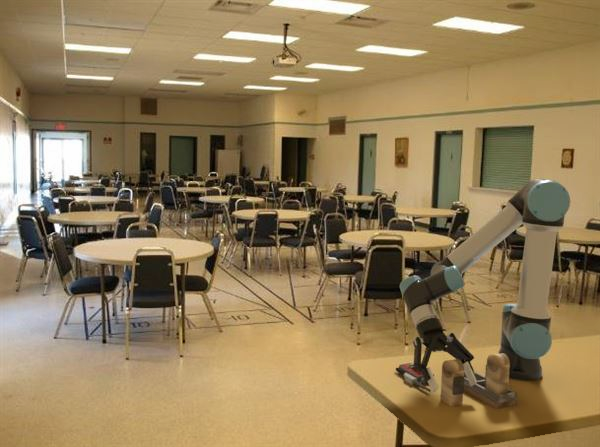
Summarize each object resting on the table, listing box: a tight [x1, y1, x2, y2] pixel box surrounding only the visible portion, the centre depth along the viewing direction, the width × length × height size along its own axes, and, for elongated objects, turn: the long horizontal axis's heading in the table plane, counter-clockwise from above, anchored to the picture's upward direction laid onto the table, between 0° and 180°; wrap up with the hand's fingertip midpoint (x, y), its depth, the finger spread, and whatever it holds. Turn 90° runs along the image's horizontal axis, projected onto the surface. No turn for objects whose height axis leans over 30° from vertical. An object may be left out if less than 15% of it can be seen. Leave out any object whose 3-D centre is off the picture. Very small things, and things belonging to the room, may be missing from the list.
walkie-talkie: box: [395, 362, 435, 393], centre depth 193 cm, size 9×4×20 cm
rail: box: [464, 353, 519, 409], centre depth 183 cm, size 8×20×14 cm, turn 23°
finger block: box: [440, 358, 465, 407], centre depth 176 cm, size 4×6×12 cm
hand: (455, 387), depth 175 cm, fingers open, 13 cm apart
